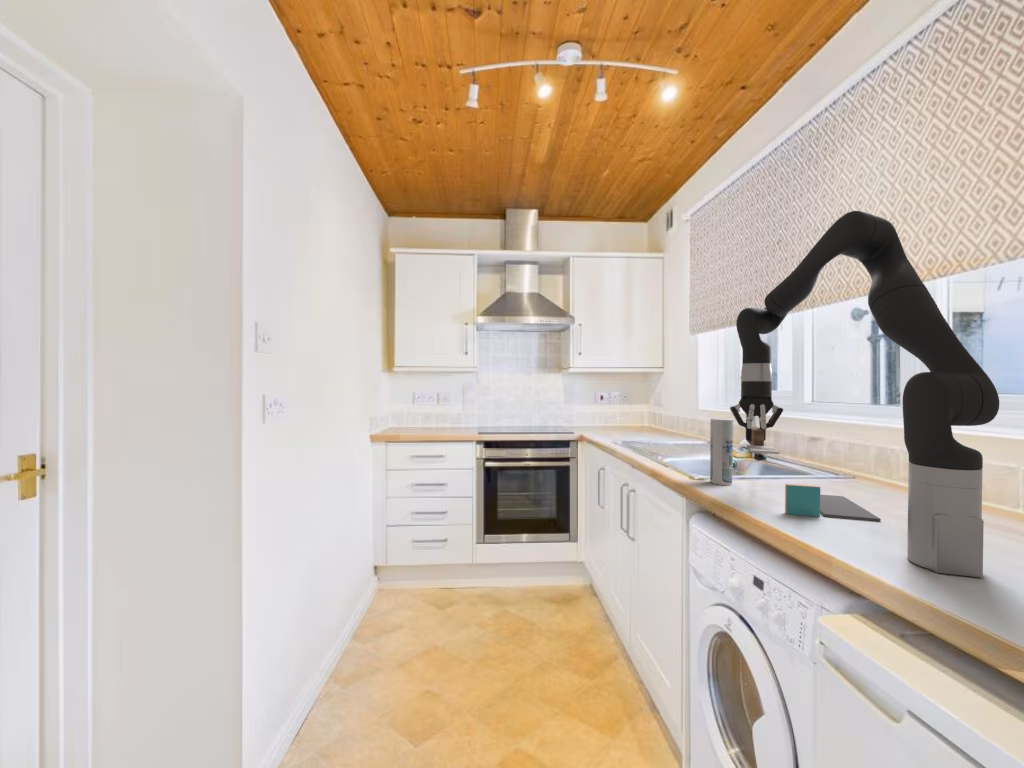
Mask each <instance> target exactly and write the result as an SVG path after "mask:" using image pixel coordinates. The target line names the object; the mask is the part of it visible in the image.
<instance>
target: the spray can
mask: <svg viewBox="0 0 1024 768" xmlns="http://www.w3.org/2000/svg"><path fill="white" fill-rule="evenodd" d="M709 435H710V442H709V443H710V445H709V447H710V450H709V451H710V454H709V458H710V460H709V461H710V463H709V464H710V465H709V468H710V469H709V470H710V471H709V479H710V480H709V481H710V483H711V482H712V483H714V484H713V485H716V484H719V485H718V486H731V484H733V459H734V458H733V457H734V453H733V452H734V449H733V448H734V418H722V417H721V418H720V417H719V418H717V417H716V418H715V417H712V418H710V433H709ZM712 483H711V484H712Z"/></svg>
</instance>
